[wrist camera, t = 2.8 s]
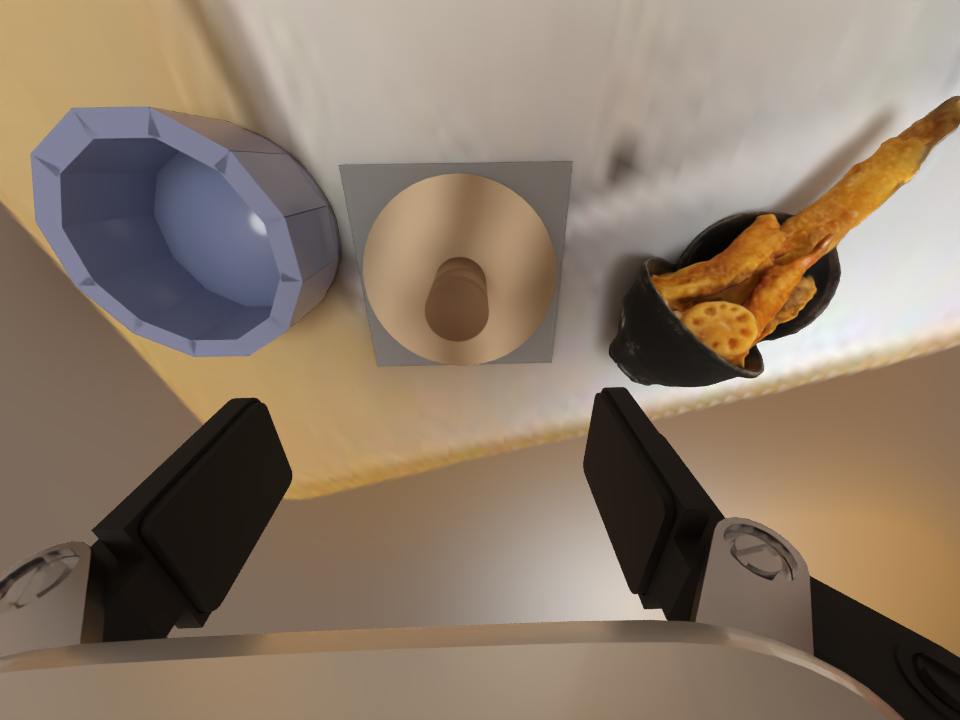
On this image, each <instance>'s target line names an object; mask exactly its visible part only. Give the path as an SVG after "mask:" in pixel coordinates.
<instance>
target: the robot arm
mask: <svg viewBox="0 0 960 720" xmlns="http://www.w3.org/2000/svg"><path fill="white" fill-rule="evenodd" d="M583 468H584V473H585V476H586V479H587V481H588V484H589V486H590V489H591V491H592V494H593V497H594V499H595V502H596V505H597V507H598V510H599V512H600V515H601V517H602V520H603V522H604V525H605V528H606V530H607V533H608V535H609V538H610V541H611V543H612V546H613V548H614V551H615V553H616V556H617V559H618V561H619V563H620V566H621V569H622V571H623V574H624V576H625V579H626V581H627V584H628V587H629V589H630V590H631V592H632V593H633V594H638V595H639V598H640V600H641V603H642V605H643V608H644V609H662V610H663V612H664V615H665V617H666V619H667V620H668V621H660V620H659V621H658V620H632V621H631V620H628V621H627V620H626V621H570V622H541V623H514V624H487V625H458V626H433V627H408V628H385V629H360V630H337V631H314V632H290V633H270V634H248V635H228V636H206V637H185V638H168V637H167V635H168V634H169V632H170V631H171V629H172V627H173V626H174V625H175V626H176V627H177V628H201V627H203V626H204V624H205V622H206V621H207V619H208V617H209V615H210V614H211V612H212V611H214V610H215V609H217V608H218V607H219V606H220V605H221V603H222V602H223V600H224V599H225V597H226V595H227V593H228V591H229V590H230V588H231V586H232V585H233V583H234V581H235V579H236V578H237V576H238V574H239V573H240V571H241V569H242V567H243V566H244V564H245V562H246V560H247V559H248V557H249V555H250V553H251V552H252V550H253V548H254V547H255V545H256V543H257V541H258V540H259V538H260V536H261V534H262V532H263V531H264V529H265V527H266V526H267V524H268V522H269V520H270V519H271V517H272V515H273V513H274V512H275V510H276V508H277V507H278V505H279V503H280V501H281V500H282V498H283V496H284V494H285V493H286V491H287V489H288V488H289V486H290V484H291V481H292V470H291V468H290V465H289V463H288V460H287V457H286V455H285V452H284V450H283V447H282V444H281V442H280V439H279V437H278V434H277V432H276V429H275V426H274V424H273V421H272V419H271V416H270V414H269V411H268V408H267V406H266V405H265V404H264V403H261V402H260V400H258V399H257V398H235V399H231V400H230V401H228V402H227V403H226V404H225V405H224V406H223V407H222V408H221V409H220V410H219V411H218V412H217V413H216V414H215V415H213V416H212V417H211V418H210V419H209V420H208V421H207V422H206V423H205V424H204V425H203V426H202V427H201V428H200V429H199V430H198V431H196V432H195V433H194V434H193V435H192V436H191V437H190V438H189V439H188V440H187V441H186V442H185V443H184V444H183V445H182V446H181V447H180V448H178V449H177V450H176V451H175V452H174V453H173V454H172V455H171V456H170V457H169V458H168V459H167V460H166V461H165V462H164V463H163V464H162V465H160V466H159V467H158V468H157V469H156V470H155V471H154V472H153V473H152V474H151V475H150V476H149V477H148V478H147V479H146V480H144V481H143V482H142V483H141V484H140V485H139V486H138V487H137V488H136V489H135V490H134V491H133V492H132V493H131V494H130V495H129V496H127V497H126V498H125V499H124V500H123V501H122V502H121V503H120V504H119V505H118V506H117V507H116V508H115V509H114V510H113V511H112V512H111V513H110V514H108V515H107V516H106V517H105V518H104V519H103V520H102V521H101V522H100V523H99V524H98V525H97V526H96V527H95V528H94V529H92V532H94V534H95V535H96V536H97V537H98V538H99V539H98V541H96V542H95V543H94V544H93V545H92V546H91V547H90V546H89V545H88V544H86V543H85V542H80V541H71V542H66V543H61V544H57V545H55V546H52V547H49V548H46V549H44V550H41V551H39V552H37V553H35V554H33V555H31V556H29V557H27V558H25V559H24V560H22V561H20V562H19V563H17V564H16V565H14V566H13V567H11V568H10V569H8V570H6V571H5V572H4V573H3V574H1V575H0V720H960V658H959V657H958V656H956V655H954V654H953V653H951V652H949V651H948V650H946V649H945V648H943V647H941V646H940V645H938V644H936V643H934V642H932V641H930V640H929V639H927V638H924V637H923V636H921V635H919V634H917V633H915V632H914V631H912V630H910V629H908V628H906V627H904V626H902V625H900V624H899V623H897V622H895V621H893V620H891V619H889V618H887V617H885V616H884V615H882V614H880V613H878V612H876V611H874V610H872V609H871V608H869V607H867V606H865V605H863V604H861V603H859V602H857V601H856V600H853V599H852V598H850V597H848V596H846V595H844V594H843V593H841V592H839V591H837V590H835V589H833V588H831V587H829V586H828V585H826V584H824V583H822V582H820V581H818V580H816V579H814V578H813V577H811V576H810V575H809V571H808V567H807V564H806V562H805V561H804V559H803V558H802V556H801V554H800V553H799V552H798V551H797V549H796V548H795V547H794V546H793V545H792V544H791V543H790V542H789V541H788V540H786V539H785V538H784V537H782V536H781V535H780V534H778V533H777V532H775V531H774V530H772V529H770V528H768V527H767V526H765V525H763V524H761V523H758V522H755V521H752V520H750V519H746V518H739V517H732V518H725V517H724V516H723V514H722V513H721V512H720V511H719V509H718V508H717V506H716V505H715V504H714V502H713V501H712V500H711V499H710V497H709V496H708V494H707V493H706V492H705V490H704V489H703V488H702V487H701V485H700V484H699V482H698V481H697V480H696V478H695V477H694V476H693V474H692V473H691V472H690V470H689V469H688V468H687V467H686V465H685V464H684V463H683V461H682V460H681V458H680V457H679V456H678V454H677V453H676V452H675V450H674V449H673V448H672V446H671V445H670V444H669V443H668V441H667V440H666V438H665V437H664V436H663V435H662V434H660V433H659V432H658V431H657V429H656V428H655V427H654V425H653V424H652V423H651V421H650V420H649V419H648V417H647V416H646V415H645V413H644V412H643V410H642V409H641V408H640V406H639V405H638V404H637V402H636V401H635V400H634V398H633V397H632V396H631V394H630V393H629V392H628V390H627V389H626V388H624V387H613V388H603V389H602V391H601V393H597V394H596V395H595V399H594V405H593V411H592V416H591V422H590V427H589V433H588V439H587V444H586V450H585V456H584V462H583Z"/></svg>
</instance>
